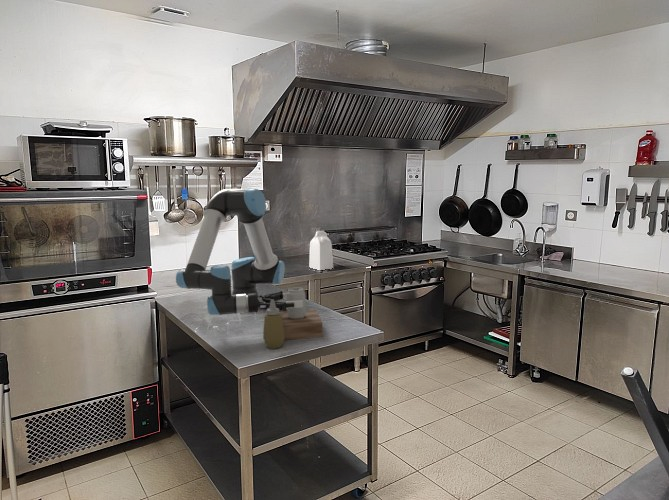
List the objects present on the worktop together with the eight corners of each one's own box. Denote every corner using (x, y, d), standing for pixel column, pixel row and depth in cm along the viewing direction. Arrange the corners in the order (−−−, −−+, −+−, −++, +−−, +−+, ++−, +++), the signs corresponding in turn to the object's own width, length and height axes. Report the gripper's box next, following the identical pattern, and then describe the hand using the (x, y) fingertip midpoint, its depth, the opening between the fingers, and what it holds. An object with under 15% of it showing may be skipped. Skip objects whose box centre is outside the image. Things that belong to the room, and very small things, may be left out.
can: (306, 314, 199) (305, 286, 197) (305, 319, 192) (304, 290, 190) (288, 314, 199) (287, 286, 197) (287, 320, 192) (285, 291, 190)
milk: (322, 266, 334) (321, 229, 330) (333, 268, 326) (332, 230, 322) (309, 269, 326) (307, 231, 322) (320, 271, 318) (319, 232, 314)
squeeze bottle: (273, 351, 174) (271, 303, 171) (259, 346, 179) (256, 300, 177) (289, 345, 180) (287, 299, 177) (275, 341, 185) (273, 296, 183)
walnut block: (274, 326, 203) (273, 312, 203) (316, 323, 207) (315, 309, 206) (277, 340, 186) (276, 325, 185) (322, 336, 189) (322, 322, 188)
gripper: (247, 304, 203) (297, 300, 207) (248, 321, 179) (304, 317, 183) (246, 287, 202) (296, 283, 206) (247, 301, 178) (304, 298, 182)
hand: (300, 299), depth 194 cm, fingers open, 13 cm apart
